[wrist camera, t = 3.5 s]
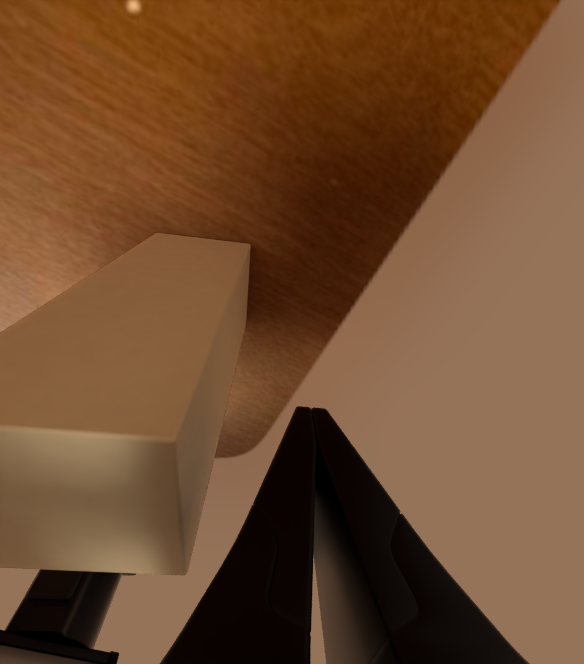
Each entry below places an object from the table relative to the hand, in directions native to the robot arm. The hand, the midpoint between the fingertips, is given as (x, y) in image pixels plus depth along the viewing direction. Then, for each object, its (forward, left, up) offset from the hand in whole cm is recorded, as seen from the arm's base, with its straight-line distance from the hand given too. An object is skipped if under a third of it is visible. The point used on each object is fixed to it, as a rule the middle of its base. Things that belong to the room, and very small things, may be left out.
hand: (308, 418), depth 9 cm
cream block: (0, +5, -9) cm, 10 cm away
